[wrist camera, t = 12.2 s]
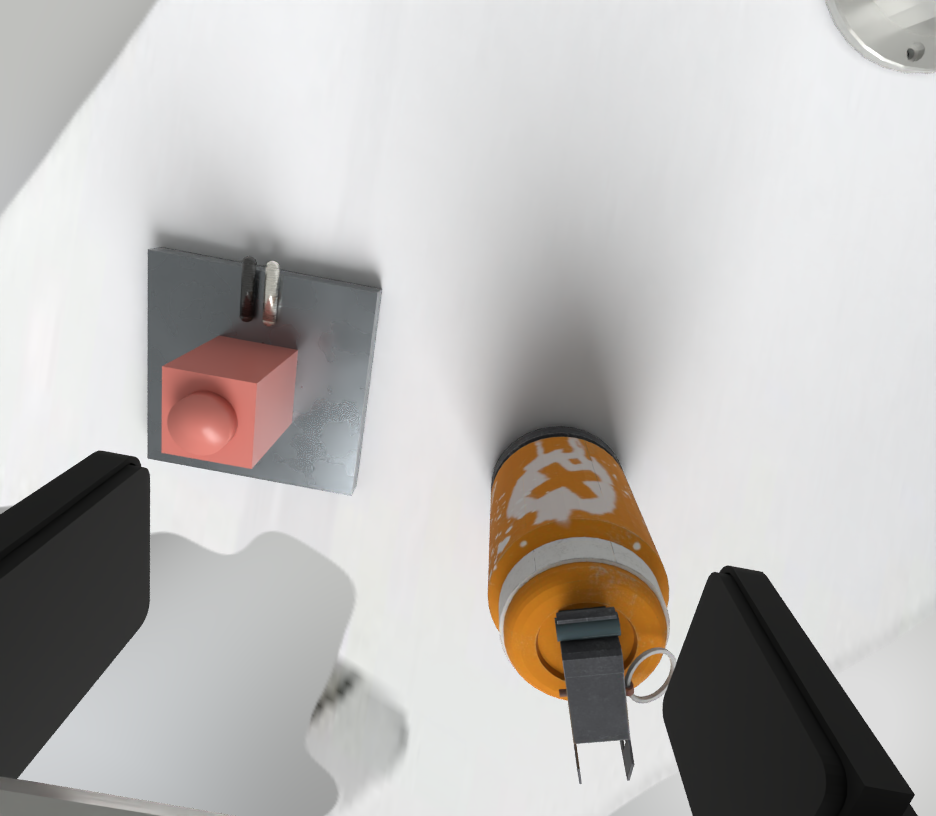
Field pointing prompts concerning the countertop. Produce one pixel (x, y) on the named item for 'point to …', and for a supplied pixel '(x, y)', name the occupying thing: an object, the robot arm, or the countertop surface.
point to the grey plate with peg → (280, 324)
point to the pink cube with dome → (227, 400)
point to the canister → (576, 580)
